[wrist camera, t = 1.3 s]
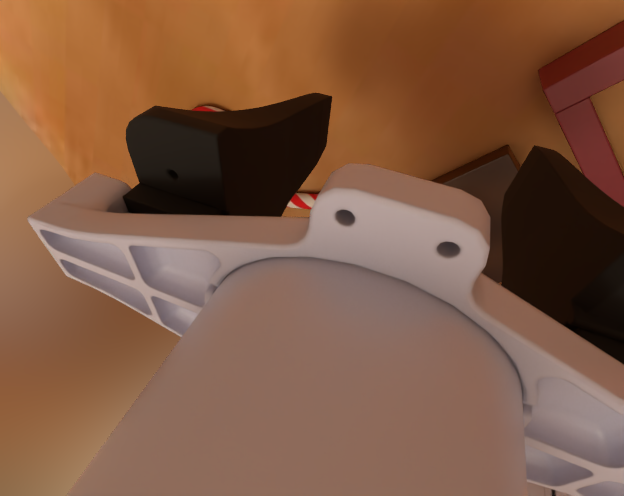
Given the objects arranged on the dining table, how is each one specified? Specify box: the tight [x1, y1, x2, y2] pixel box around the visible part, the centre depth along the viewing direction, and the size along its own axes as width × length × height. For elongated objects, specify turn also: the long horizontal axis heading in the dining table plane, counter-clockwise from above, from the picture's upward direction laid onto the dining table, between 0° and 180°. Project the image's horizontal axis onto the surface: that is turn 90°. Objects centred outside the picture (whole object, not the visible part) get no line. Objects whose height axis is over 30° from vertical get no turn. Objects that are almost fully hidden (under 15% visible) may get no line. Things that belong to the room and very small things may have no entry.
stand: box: [432, 145, 521, 283], centre depth 24 cm, size 10×10×7 cm
